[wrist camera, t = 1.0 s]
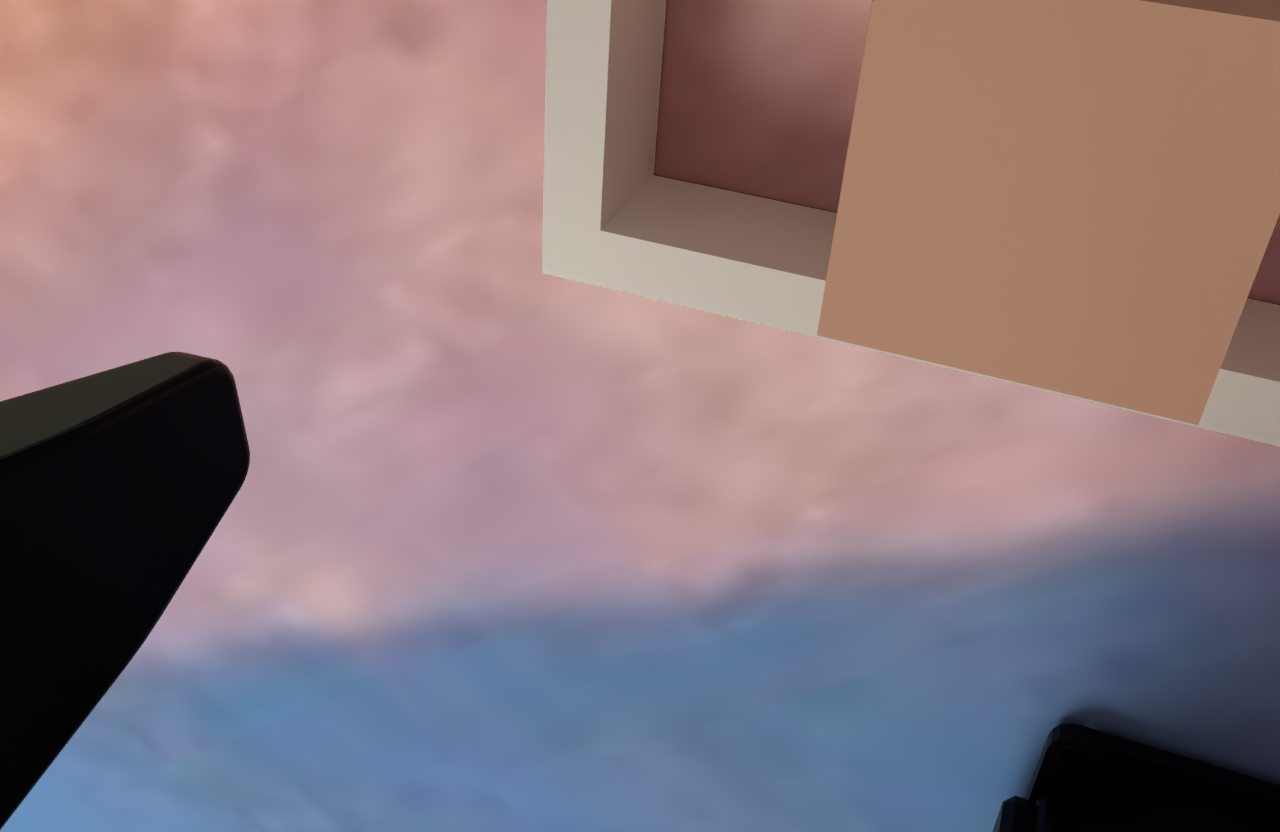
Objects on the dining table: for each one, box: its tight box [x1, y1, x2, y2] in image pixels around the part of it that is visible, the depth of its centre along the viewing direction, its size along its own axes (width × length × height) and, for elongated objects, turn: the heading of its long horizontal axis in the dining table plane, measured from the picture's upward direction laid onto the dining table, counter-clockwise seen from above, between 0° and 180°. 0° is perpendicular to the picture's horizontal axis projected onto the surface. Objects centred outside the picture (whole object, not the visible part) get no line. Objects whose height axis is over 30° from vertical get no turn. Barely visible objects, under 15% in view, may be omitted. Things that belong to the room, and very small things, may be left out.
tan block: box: [817, 0, 1280, 425], centre depth 16 cm, size 4×4×6 cm
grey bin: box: [542, 0, 1280, 447], centre depth 17 cm, size 15×8×2 cm, turn 86°
